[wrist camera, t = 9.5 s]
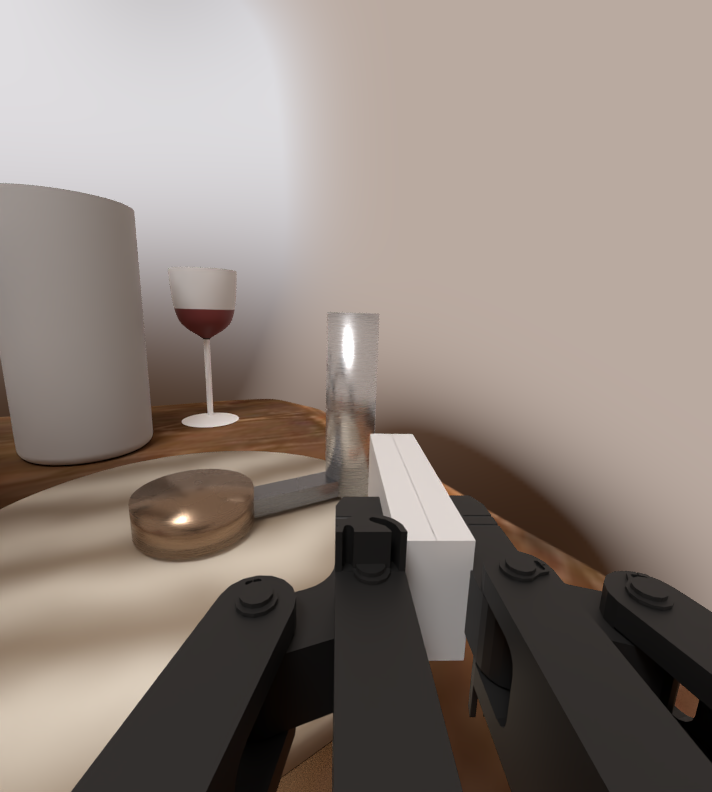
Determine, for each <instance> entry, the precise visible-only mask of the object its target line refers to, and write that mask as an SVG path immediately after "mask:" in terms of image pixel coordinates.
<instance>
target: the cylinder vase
mask: <svg viewBox="0 0 712 792" xmlns="http://www.w3.org/2000/svg"><path fill="white" fill-rule="evenodd" d="M0 356H1V362H2V368H3V374H4V380H5V386H6V393H7V398H8V404H9V411H10V417H11V423H12V429H13V435H14V441H15V447H16V452H17V454H18V455H19V456H20V457H21V458H22V459H24V460H26V461H28V462H32V463H36V464H43V465H73V464H83V463H90V462H96V461H102V460H106V459H111V458H115V457H118V456H121V455H125V454H127V453H130V452H133V451H135V450H137V449H139V448H141V447H143V446H144V445H145V444H147V443H148V442H149V441H150V439H151V438H152V436H153V425H152V414H151V402H150V391H149V379H148V369H147V357H146V345H145V333H144V322H143V309H142V298H141V286H140V275H139V264H138V252H137V240H136V228H135V217H134V210H133V209H132V208H130V207H128V206H126V205H124V204H122V203H119V202H116V201H113V200H110V199H107V198H102V197H99V196H95V195H90V194H86V193H81V192H76V191H70V190H64V189H58V188H51V187H43V186H34V185H24V184H7V183H0Z"/></svg>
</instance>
